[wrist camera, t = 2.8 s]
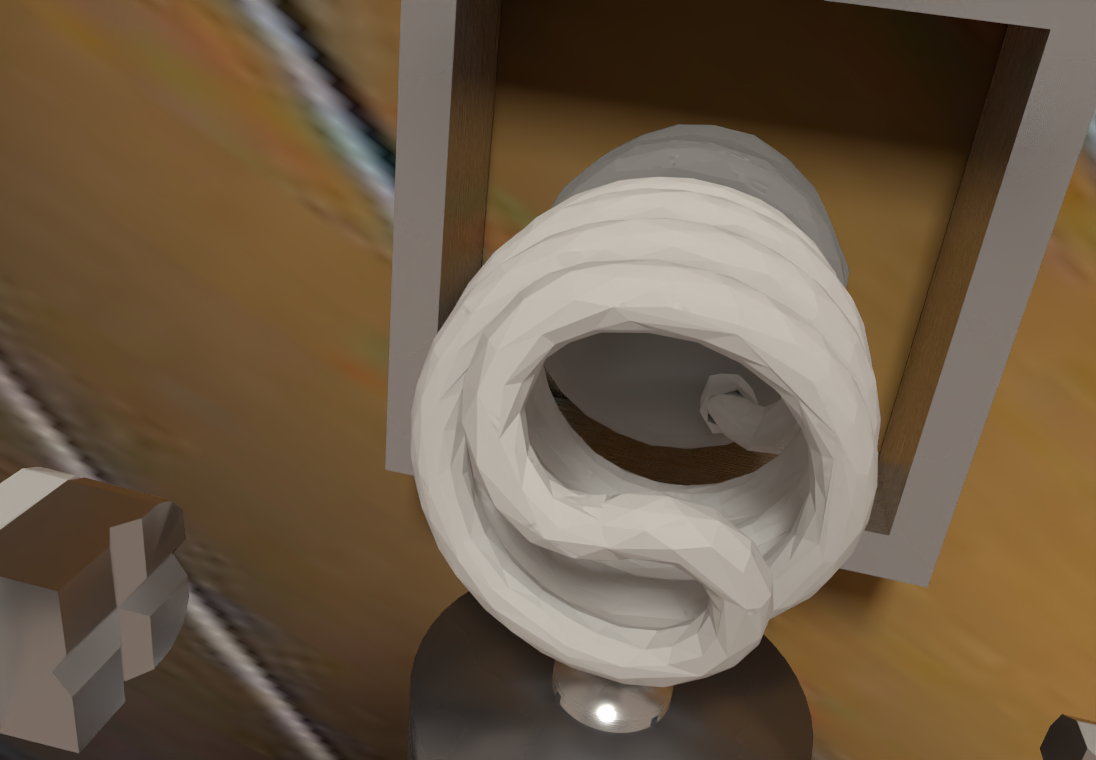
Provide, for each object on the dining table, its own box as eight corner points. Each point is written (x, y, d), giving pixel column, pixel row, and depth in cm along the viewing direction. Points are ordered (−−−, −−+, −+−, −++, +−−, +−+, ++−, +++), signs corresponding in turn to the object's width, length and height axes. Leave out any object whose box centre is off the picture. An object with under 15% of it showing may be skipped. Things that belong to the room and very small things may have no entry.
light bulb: (520, 198, 21) (244, 478, 10) (731, 22, 19) (649, 152, 8) (681, 391, 22) (578, 822, 12) (900, 247, 20) (1026, 626, 9)
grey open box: (460, -114, 19) (204, -142, 11) (1089, -40, 17) (1364, -7, 9) (422, 555, 26) (252, 845, 18) (862, 656, 24) (898, 1031, 16)
